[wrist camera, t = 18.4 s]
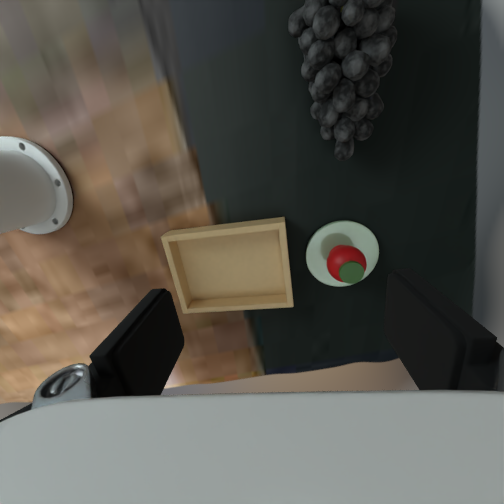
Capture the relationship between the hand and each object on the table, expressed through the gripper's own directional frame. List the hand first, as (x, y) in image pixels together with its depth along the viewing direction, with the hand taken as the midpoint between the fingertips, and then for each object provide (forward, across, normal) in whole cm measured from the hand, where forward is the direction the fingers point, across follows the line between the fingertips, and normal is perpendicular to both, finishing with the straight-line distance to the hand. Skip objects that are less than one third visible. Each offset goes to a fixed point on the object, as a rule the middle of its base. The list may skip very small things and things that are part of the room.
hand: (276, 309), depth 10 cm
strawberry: (+20, -8, +7) cm, 23 cm away
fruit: (+21, -7, -12) cm, 26 cm away
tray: (+21, +6, +7) cm, 23 cm away
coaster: (+21, -8, +7) cm, 23 cm away
